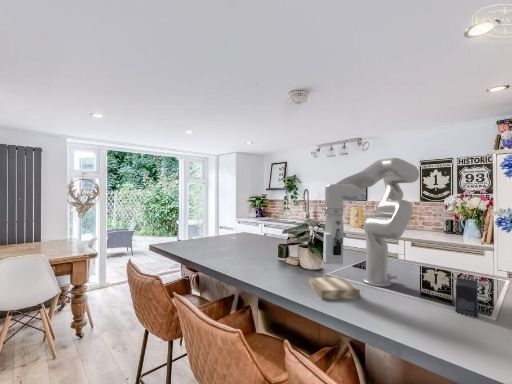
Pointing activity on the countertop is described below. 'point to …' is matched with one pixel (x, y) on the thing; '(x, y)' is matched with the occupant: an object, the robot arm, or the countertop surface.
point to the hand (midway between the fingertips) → (332, 252)
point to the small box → (466, 297)
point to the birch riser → (334, 288)
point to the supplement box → (331, 251)
